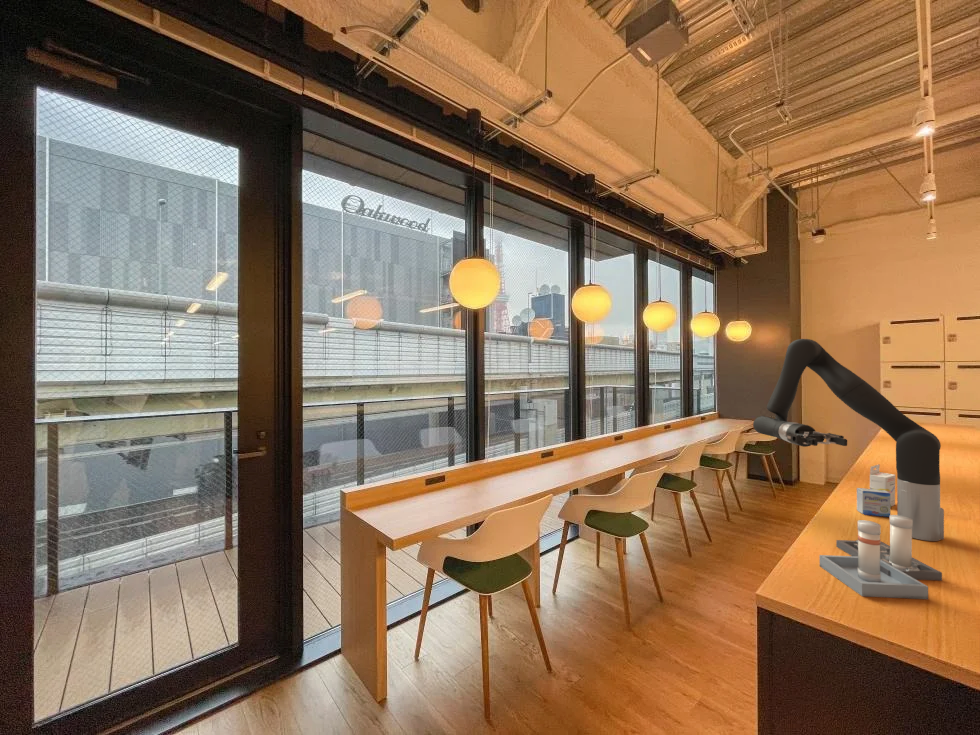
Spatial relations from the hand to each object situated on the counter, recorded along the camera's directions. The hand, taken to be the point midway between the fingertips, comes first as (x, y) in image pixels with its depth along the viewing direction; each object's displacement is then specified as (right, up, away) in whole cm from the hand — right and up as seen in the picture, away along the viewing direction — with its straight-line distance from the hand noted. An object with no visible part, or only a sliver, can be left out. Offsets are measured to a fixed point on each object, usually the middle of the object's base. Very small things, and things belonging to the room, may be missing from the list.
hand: (831, 442), depth 124 cm
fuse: (+1, -30, -20) cm, 36 cm away
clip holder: (+2, -30, -15) cm, 34 cm away
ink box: (+44, -29, +28) cm, 59 cm away
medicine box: (+32, -30, +19) cm, 47 cm away
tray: (-11, -30, -25) cm, 41 cm away
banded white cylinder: (-11, -30, -24) cm, 40 cm away
